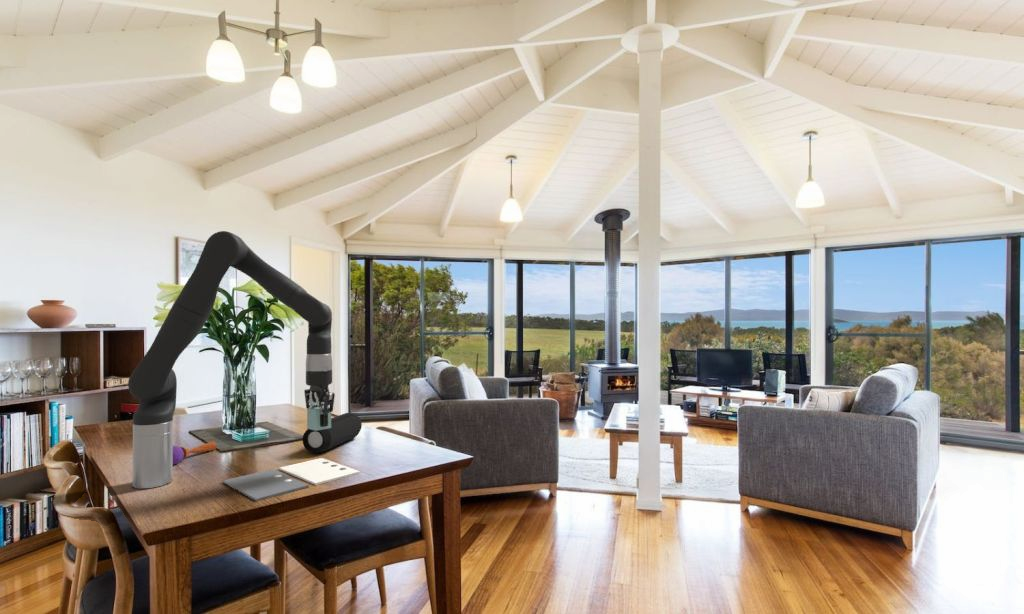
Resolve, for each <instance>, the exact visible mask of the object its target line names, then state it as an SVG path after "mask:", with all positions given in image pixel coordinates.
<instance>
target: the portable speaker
mask: <svg viewBox="0 0 1024 614" xmlns="http://www.w3.org/2000/svg"><path fill="white" fill-rule="evenodd" d="M362 425H363V424H362V420H361V419H360V417H359V416H358V415H357V414H355V413H351V412H345V413H341V414H339V415H337V416H334V417H331V428H328V429H322V430H317V431H315V430H311V429H308V428H307V429H306V430H305V432H304V433H303V435H302V438H301V439H302V444H303V447H304V449H305V450H306V451H308V452H310V453H313V454H323V453H324V452H326V451H329V450H331V449H333V448H336V447H338V446H339V445H343V444H344V443H346V442H349V441H350V440H353V439H355V438H356V437H357V436H358V435H359V434H360V432H361V431H362V430H361V429H362Z"/></svg>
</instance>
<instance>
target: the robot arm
mask: <svg viewBox="0 0 1024 614" xmlns="http://www.w3.org/2000/svg"><path fill="white" fill-rule="evenodd" d="M230 267H232V268H234V269H236V270H237V271H239V272H241V273H243V274H245V275H246V276H248V277H249V278H250V279H252V280H253V281H254V282H256V283H257V284H258V285H259V286H260V287H261V288H263V289H264V290H265V291H266V292H267V293H268V294H270V295H271V296H272V297H273V298H275V299H276V300H277V301H279V302H280V303H282V304H283V305H284V306H287V308H290V309H291V310H292V311H294V312H295V313H296V314H297V315H298V316H299V317H300V318H302V319H303V320H305V321H306V322H307V327H308V332H307V333H308V336H307V337H306V358H305V384H306V386H309V388H308V389H304V399H305V400H304V402H305V408H306V409H307V408H313V407H319V410H320V426H321V427H325V426H328V413H329V412H331V413H332V412H333V410H334V404H335V397H336V394H335V392H330V389H329V385H332V383H333V356H332V336H331V334H332V325H333V324H332V323H333V322H332V321H333V312H332V309H331V308H330V306H329V305H328V304H326V303H323V302H322V301H320V300H318V299H317V298H316V297H314V296H313V295H311V294H310V293H308V291H307V290H305V289H304V288H303V286H301V285H299V284H298V283H296V282H295V281H294V280H292V279H291V278H290V277H288V276H287V275H286V274H284V273H282V272H280V271H279V270H277V269H276V268H275V267H273V266H271V265H270V264H269V263H268V262H266V260H264V259H262V258H261V257H260V256H259V255H257V254H256V253H255V252H254V250H252V249H251V248H250V247H249V246H248V245H247V243H246V242H245V241H244V240H243V239H242V238H241V237H240V236H238V235H236V234H235V233H232V232H230V231H225V230H222V231H221V230H220V231H217V232H215V233H213V234H211V235H210V236H209V237H208V239H207V240H206V242H205V245H204V246H203V250H202V251H201V254H200V257H199V259H198V261H197V263H196V266H195V268H194V270H193V271H192V273H191V275H190V277H189V278H188V279H187V281H186V283H185V284H184V286H183V288H182V289H181V291H180V293H179V294H178V296H177V298H176V299H175V301H174V302H173V304H172V306H171V308H170V310H169V312H168V313H167V315H166V317H165V319H164V320H163V323H162V324H161V326H160V328H159V329H158V332H157V333H156V336H155V338H154V340H153V342H152V343H151V345H150V347H149V349H148V350H147V352H146V353H145V354H144V356H143V357H142V359H141V360H140V362H139V363H138V365H136V367H135V368H134V370H133V371H132V372H131V375H130V376H129V378H128V384H127V386H128V387H127V388H128V390H129V393H130V394H131V396H133V398H136V399H138V400H139V402H138V405H137V408H136V410H135V411H134V413H133V415H132V473H131V475H132V476H131V477H132V481H131V484H132V488H133V487H134V489H151V488H157V487H161V486H165V485H168V484H170V483H171V482H172V481H173V468H174V467H173V466H174V465H173V446H174V427H173V426H174V421H173V420H174V413H175V410H176V405H177V388H178V387H177V386H178V385H177V384H178V383H177V375H176V372H175V371H174V369H173V368H174V365H175V363H176V362H177V360H178V358H179V357H180V355H181V354H182V353H183V352H184V351H185V350H186V349H187V347H188V346H189V345H190V344H191V343H192V342H193V341H194V340H195V339H196V337H198V335H199V333H200V332H201V331H202V329H203V328H204V327H205V324H206V322H207V321H208V319H209V316H210V315H211V313H212V311H213V309H214V306H215V302H216V299H217V294H218V289H219V287H220V284H221V281H223V278H224V277H225V275H226V273H227V272H228V271H229V269H230ZM323 406H324V408H323ZM169 482H170V483H169ZM167 483H168V484H167Z"/></svg>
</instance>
